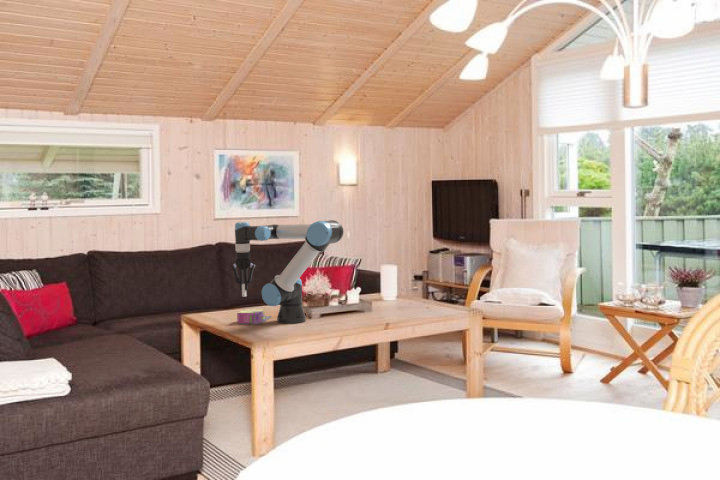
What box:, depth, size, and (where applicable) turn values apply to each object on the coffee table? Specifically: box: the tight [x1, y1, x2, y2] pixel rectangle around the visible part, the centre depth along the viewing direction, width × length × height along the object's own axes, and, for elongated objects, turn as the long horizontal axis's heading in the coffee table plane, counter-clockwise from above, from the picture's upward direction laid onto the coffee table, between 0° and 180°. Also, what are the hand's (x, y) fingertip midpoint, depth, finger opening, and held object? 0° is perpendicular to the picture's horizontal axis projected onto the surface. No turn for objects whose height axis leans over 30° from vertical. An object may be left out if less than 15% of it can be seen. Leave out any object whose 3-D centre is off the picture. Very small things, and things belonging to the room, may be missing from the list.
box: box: [236, 309, 266, 324], centre depth 386 cm, size 10×6×12 cm
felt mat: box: [238, 315, 273, 325], centre depth 393 cm, size 11×24×1 cm, turn 171°
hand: (244, 296), depth 386 cm, fingers closed
